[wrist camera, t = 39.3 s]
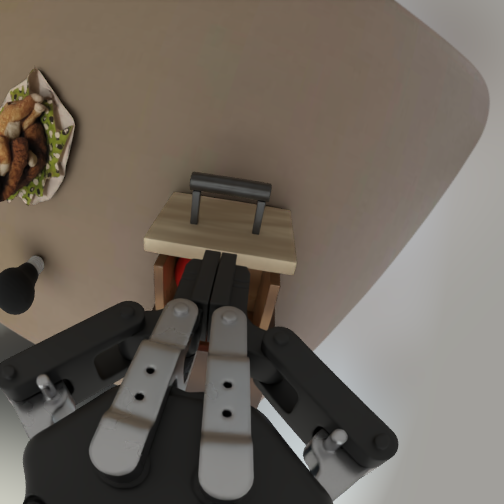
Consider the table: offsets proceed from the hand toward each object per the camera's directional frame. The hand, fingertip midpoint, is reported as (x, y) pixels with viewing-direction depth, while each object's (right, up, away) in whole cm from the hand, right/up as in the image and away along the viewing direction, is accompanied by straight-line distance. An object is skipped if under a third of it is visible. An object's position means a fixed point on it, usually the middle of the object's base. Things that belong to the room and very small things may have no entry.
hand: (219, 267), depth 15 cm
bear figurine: (-23, +14, +12) cm, 30 cm away
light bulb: (-28, 0, +22) cm, 35 cm away
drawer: (-1, +2, +18) cm, 18 cm away
